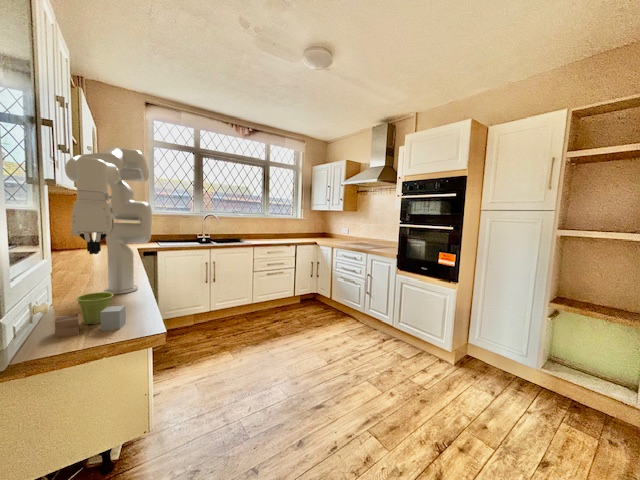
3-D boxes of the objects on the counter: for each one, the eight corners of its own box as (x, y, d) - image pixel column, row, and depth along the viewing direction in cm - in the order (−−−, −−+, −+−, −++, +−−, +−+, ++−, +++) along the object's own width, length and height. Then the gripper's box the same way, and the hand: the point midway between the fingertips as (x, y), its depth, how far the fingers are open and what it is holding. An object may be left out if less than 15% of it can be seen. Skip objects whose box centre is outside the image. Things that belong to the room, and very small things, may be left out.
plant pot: (106, 313, 95) (106, 290, 95) (118, 320, 91) (118, 295, 90) (72, 322, 87) (71, 296, 87) (84, 329, 83) (83, 302, 82)
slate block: (107, 324, 87) (107, 306, 87) (125, 323, 89) (125, 305, 88) (100, 330, 83) (99, 312, 82) (119, 329, 84) (119, 311, 84)
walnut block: (56, 332, 80) (55, 316, 79) (78, 328, 83) (78, 313, 83) (55, 339, 76) (54, 322, 76) (78, 334, 80) (78, 318, 79)
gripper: (123, 199, 92) (124, 251, 94) (66, 196, 85) (68, 252, 87) (119, 198, 86) (120, 254, 87) (56, 195, 79) (59, 256, 80)
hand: (94, 253), depth 87 cm, fingers closed
